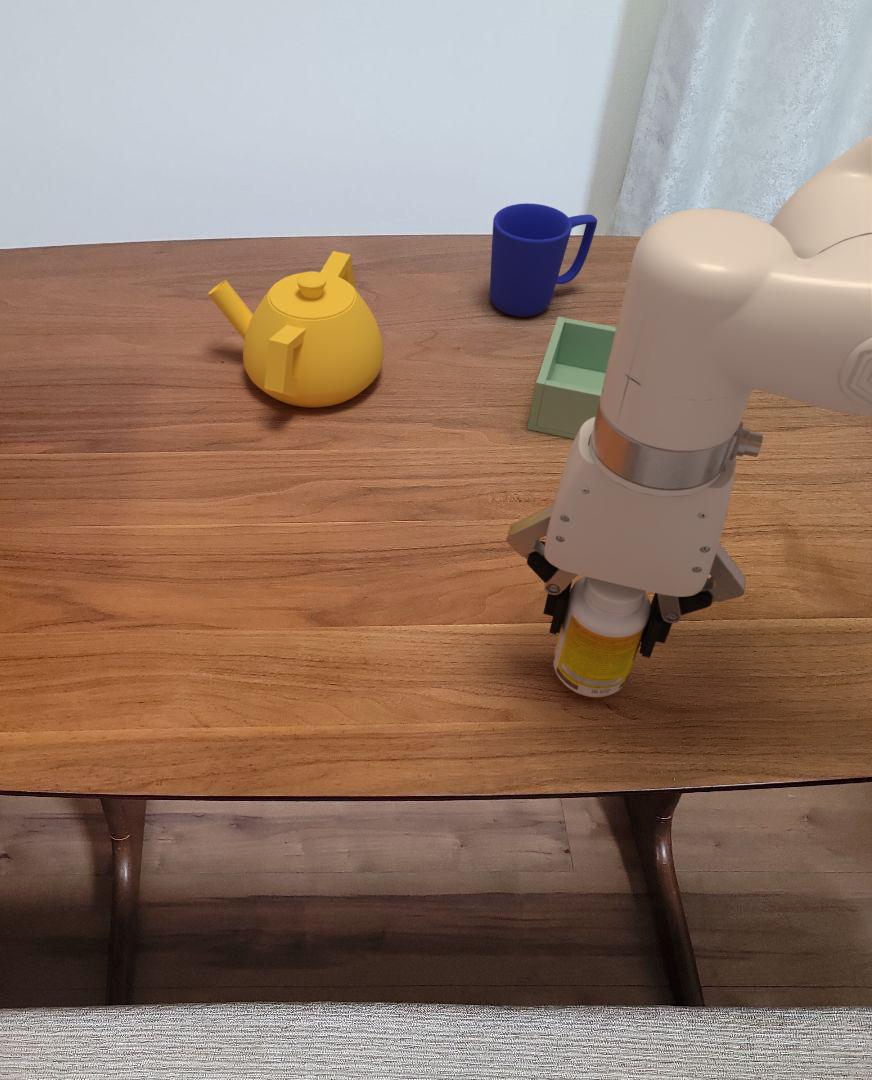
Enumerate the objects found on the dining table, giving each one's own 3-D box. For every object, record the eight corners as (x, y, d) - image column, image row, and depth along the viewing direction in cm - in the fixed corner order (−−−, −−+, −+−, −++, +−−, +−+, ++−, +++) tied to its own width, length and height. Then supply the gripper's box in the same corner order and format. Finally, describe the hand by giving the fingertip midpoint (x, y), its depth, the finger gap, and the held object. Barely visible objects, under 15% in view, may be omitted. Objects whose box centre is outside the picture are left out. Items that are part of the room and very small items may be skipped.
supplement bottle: (634, 700, 67) (669, 611, 60) (557, 701, 67) (582, 612, 60) (619, 639, 71) (649, 548, 64) (546, 639, 71) (568, 549, 64)
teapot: (251, 303, 105) (244, 211, 97) (406, 333, 101) (412, 239, 93) (173, 407, 92) (158, 311, 84) (347, 446, 88) (349, 349, 80)
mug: (599, 308, 104) (619, 225, 97) (504, 330, 101) (518, 247, 94) (560, 272, 109) (576, 191, 102) (469, 293, 106) (479, 210, 99)
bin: (671, 386, 94) (687, 339, 90) (660, 457, 87) (676, 410, 83) (548, 362, 97) (557, 316, 93) (526, 429, 90) (536, 382, 86)
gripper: (822, 423, 53) (730, 621, 66) (524, 369, 57) (493, 565, 70) (823, 510, 48) (724, 705, 61) (497, 444, 52) (470, 639, 66)
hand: (601, 628), depth 66 cm, fingers closed on supplement bottle, 5 cm apart
